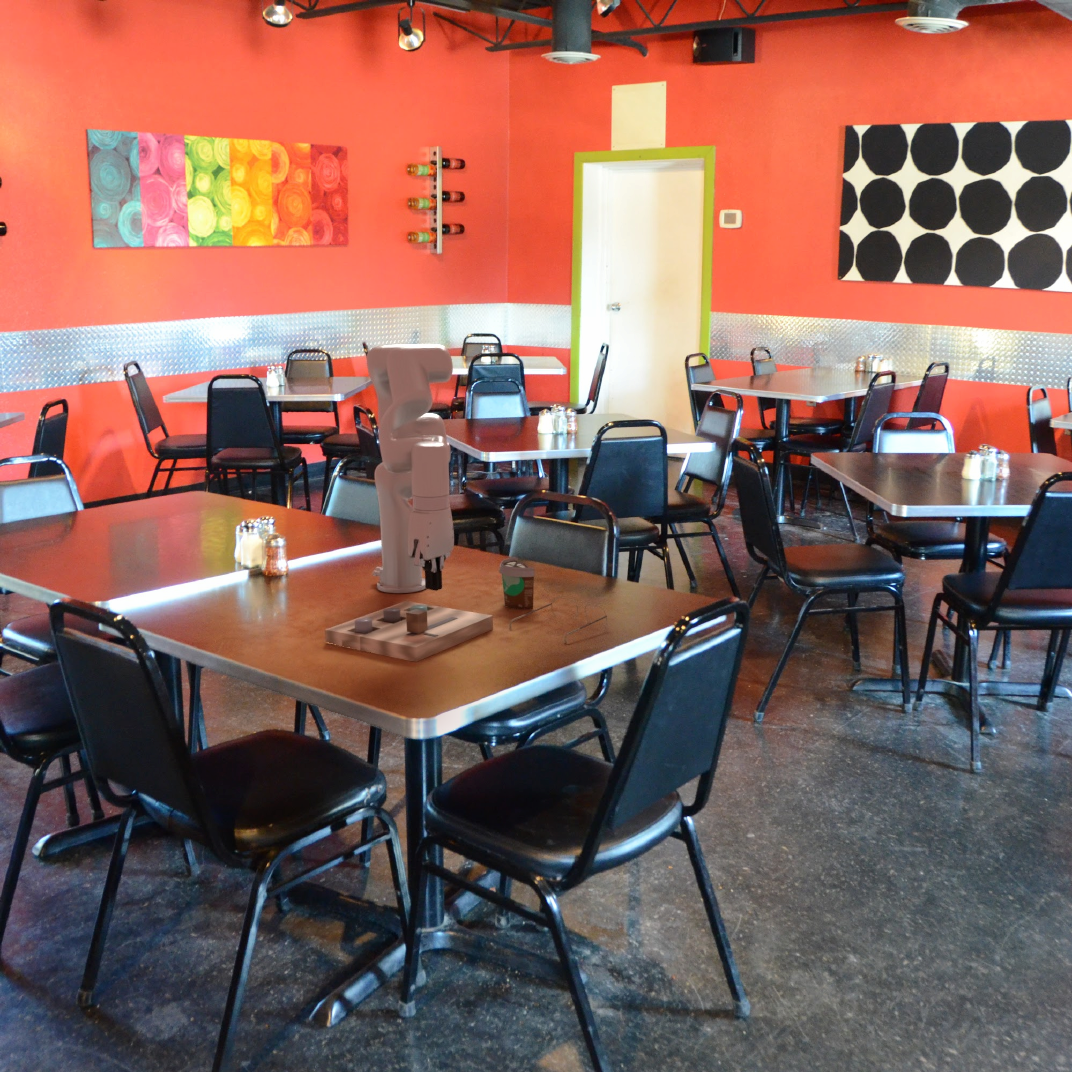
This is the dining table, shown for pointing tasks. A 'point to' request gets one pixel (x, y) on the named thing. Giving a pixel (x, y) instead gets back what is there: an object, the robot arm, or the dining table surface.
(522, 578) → the food container
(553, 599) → the eyeglasses
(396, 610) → the charcoal button
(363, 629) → the slate button
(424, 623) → the walnut slider
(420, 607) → the teal button
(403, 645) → the control panel
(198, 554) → the dining table surface
